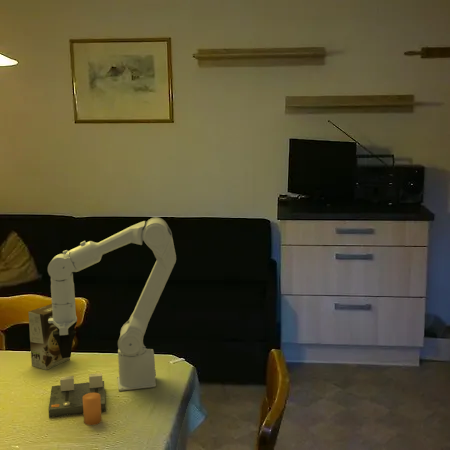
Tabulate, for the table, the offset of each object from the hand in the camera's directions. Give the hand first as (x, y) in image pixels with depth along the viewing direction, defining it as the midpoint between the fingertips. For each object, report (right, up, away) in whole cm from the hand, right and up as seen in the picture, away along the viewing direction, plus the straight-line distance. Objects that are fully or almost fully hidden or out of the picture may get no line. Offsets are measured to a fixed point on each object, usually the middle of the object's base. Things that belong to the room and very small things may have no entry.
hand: (66, 352), depth 157 cm
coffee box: (-9, -7, +18) cm, 21 cm away
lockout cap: (+10, -12, -16) cm, 23 cm away
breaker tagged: (+1, -8, -4) cm, 10 cm away
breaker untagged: (+8, -8, -3) cm, 12 cm away
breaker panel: (+5, -11, -7) cm, 14 cm away
